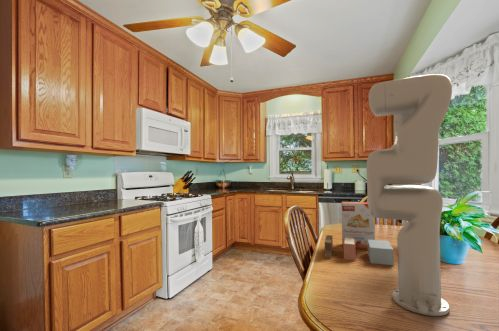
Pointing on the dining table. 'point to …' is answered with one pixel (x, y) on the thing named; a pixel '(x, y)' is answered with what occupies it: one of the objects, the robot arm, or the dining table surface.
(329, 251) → the bookend
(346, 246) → the pink rectangular block
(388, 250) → the slate block
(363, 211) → the cracker box
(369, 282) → the dining table surface
